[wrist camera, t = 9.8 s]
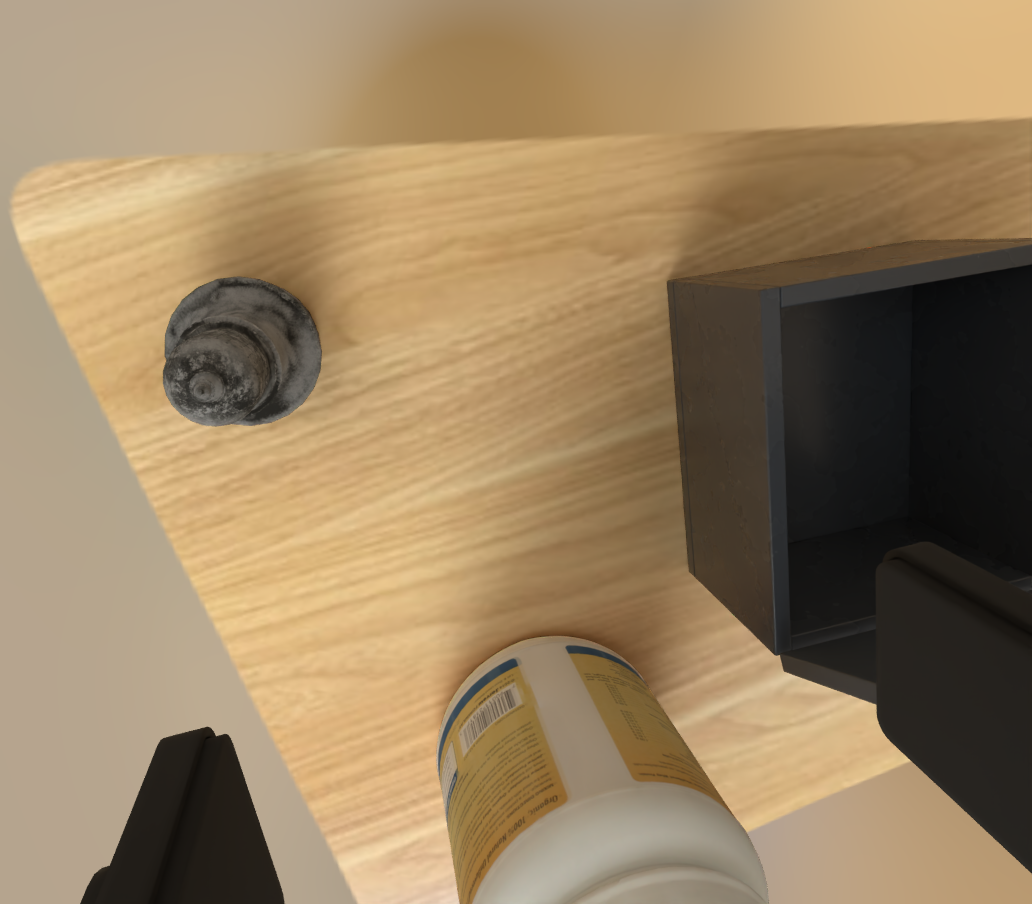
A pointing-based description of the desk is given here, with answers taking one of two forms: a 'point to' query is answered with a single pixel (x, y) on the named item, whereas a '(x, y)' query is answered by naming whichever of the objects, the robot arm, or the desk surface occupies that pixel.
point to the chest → (853, 425)
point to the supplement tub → (581, 789)
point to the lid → (839, 664)
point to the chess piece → (240, 353)
